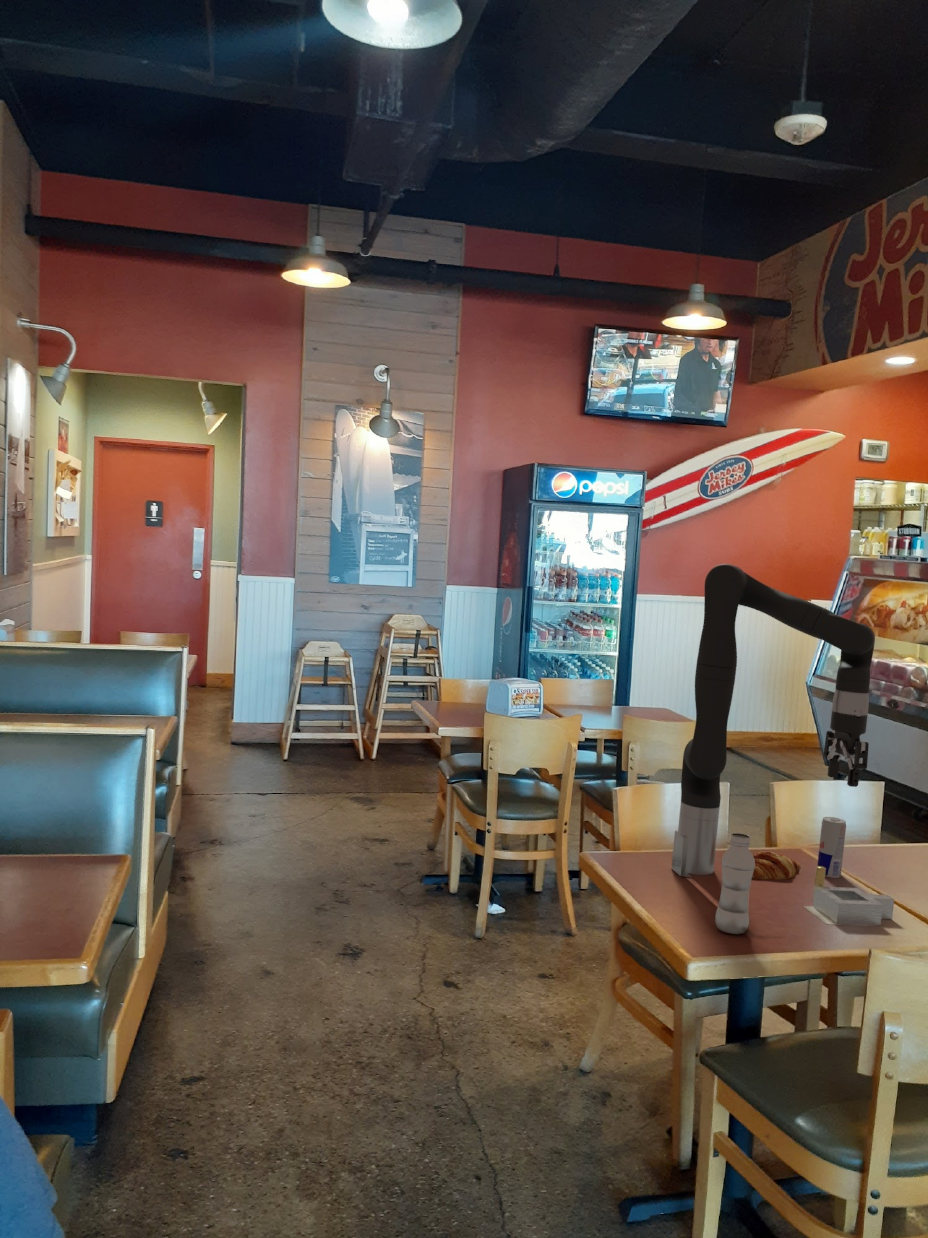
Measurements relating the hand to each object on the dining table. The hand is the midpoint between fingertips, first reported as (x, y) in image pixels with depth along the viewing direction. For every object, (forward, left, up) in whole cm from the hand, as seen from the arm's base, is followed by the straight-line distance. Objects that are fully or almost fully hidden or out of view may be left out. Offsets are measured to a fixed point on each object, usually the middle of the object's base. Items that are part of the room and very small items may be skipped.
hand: (842, 781), depth 211 cm
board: (-3, -8, -28) cm, 29 cm away
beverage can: (+9, +17, -28) cm, 34 cm away
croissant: (-6, +16, -28) cm, 33 cm away
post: (-5, -4, -27) cm, 28 cm away
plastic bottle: (-32, -19, -28) cm, 47 cm away
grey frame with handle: (0, -11, -27) cm, 29 cm away
